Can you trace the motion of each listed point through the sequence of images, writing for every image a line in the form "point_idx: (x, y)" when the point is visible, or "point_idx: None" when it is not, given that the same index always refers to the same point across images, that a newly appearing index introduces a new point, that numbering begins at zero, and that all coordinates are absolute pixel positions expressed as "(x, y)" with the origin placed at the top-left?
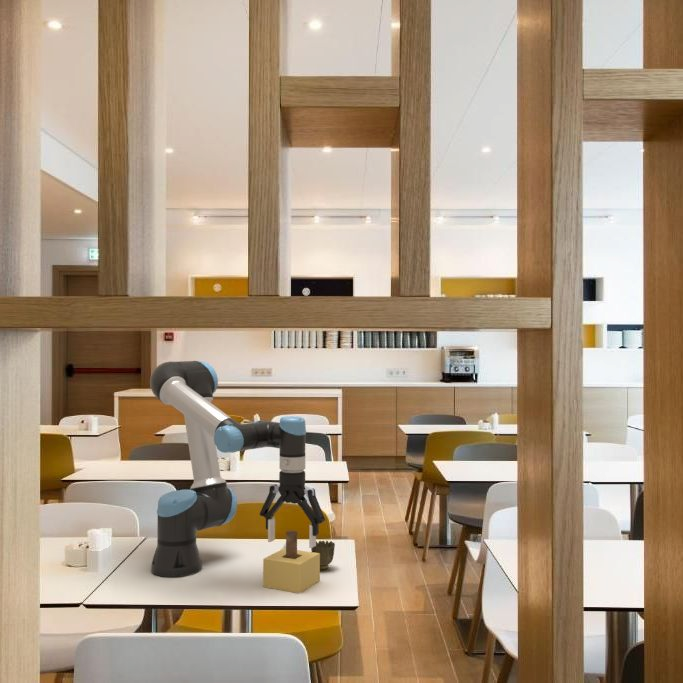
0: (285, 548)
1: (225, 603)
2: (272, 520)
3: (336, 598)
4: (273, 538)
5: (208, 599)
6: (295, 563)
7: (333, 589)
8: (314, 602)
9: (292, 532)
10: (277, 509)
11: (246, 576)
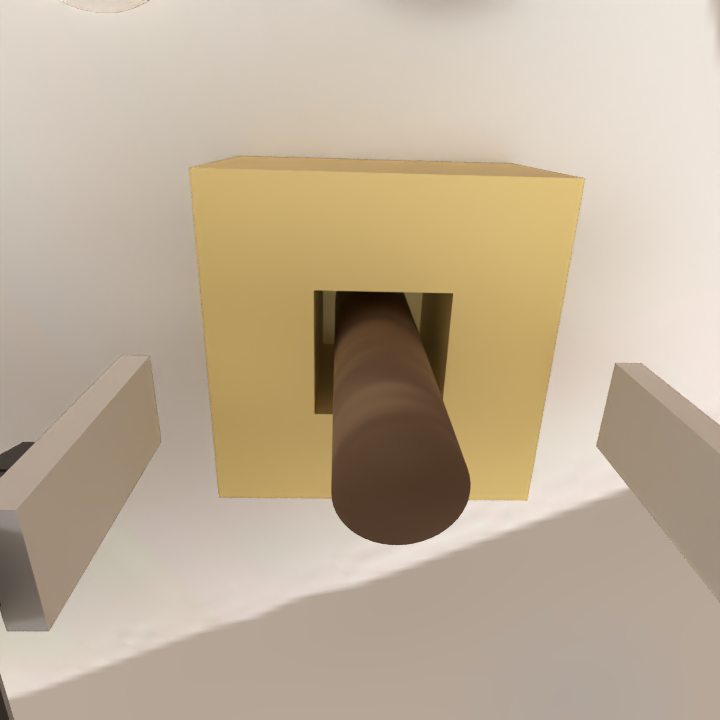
0: (205, 169)
1: (228, 620)
2: (47, 557)
3: (685, 394)
4: (145, 390)
5: (134, 613)
6: (485, 495)
7: (640, 278)
8: (591, 477)
9: (417, 498)
10: (7, 706)
11: (47, 286)
